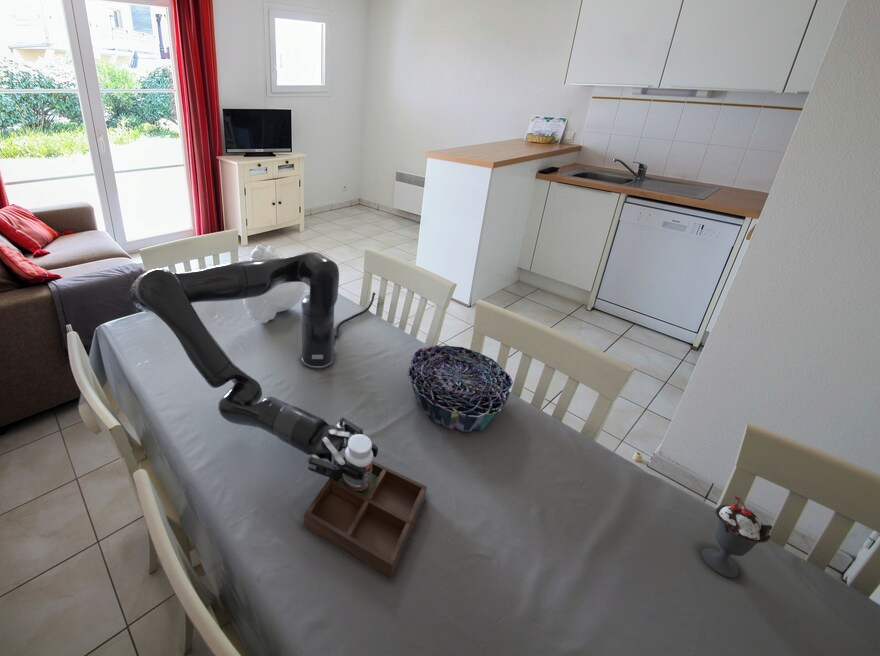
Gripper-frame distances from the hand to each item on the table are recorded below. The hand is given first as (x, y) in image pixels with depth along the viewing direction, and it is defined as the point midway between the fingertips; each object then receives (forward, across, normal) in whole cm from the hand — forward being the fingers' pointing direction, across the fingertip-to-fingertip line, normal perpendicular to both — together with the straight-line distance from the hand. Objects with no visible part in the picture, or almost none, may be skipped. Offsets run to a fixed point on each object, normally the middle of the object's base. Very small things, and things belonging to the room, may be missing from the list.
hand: (369, 463), depth 84 cm
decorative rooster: (-61, +47, +9) cm, 78 cm away
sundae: (+59, +20, +7) cm, 63 cm away
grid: (+2, -4, +8) cm, 9 cm away
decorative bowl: (+8, +36, +8) cm, 38 cm away
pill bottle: (-2, 0, +6) cm, 7 cm away
